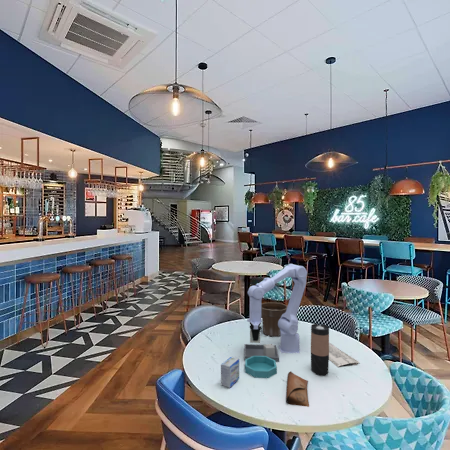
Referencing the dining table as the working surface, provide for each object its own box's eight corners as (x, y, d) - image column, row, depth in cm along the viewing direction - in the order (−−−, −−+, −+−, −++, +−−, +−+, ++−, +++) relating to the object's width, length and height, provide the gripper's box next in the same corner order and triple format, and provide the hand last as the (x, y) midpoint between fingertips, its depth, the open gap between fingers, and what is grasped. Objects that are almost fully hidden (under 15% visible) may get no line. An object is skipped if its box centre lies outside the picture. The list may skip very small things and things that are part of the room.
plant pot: (259, 327, 178) (259, 301, 178) (286, 328, 176) (286, 302, 175) (259, 337, 162) (259, 309, 161) (288, 339, 159) (288, 310, 159)
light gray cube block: (271, 352, 142) (271, 343, 142) (274, 356, 138) (274, 347, 138) (263, 353, 142) (263, 344, 142) (266, 357, 138) (266, 348, 138)
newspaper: (361, 365, 132) (361, 360, 132) (338, 371, 130) (338, 366, 129) (332, 344, 154) (331, 339, 154) (312, 349, 152) (311, 344, 152)
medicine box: (229, 388, 113) (230, 366, 113) (220, 385, 115) (220, 363, 115) (239, 379, 119) (239, 358, 119) (230, 376, 122) (230, 356, 122)
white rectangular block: (259, 339, 141) (259, 329, 141) (260, 342, 137) (260, 333, 137) (250, 339, 141) (250, 329, 141) (250, 342, 137) (250, 332, 137)
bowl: (274, 363, 133) (274, 356, 133) (277, 379, 119) (277, 371, 119) (245, 362, 134) (245, 355, 134) (245, 378, 120) (245, 370, 120)
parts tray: (276, 350, 146) (276, 345, 146) (279, 362, 133) (279, 357, 133) (244, 348, 147) (244, 344, 147) (244, 361, 134) (244, 356, 134)
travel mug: (319, 378, 121) (320, 331, 120) (306, 369, 127) (307, 325, 127) (332, 373, 124) (333, 328, 124) (319, 365, 131) (319, 322, 130)
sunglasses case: (310, 407, 101) (300, 390, 102) (293, 414, 103) (283, 397, 104) (308, 380, 119) (299, 365, 120) (293, 386, 120) (285, 372, 121)
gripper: (247, 306, 146) (247, 332, 147) (247, 315, 132) (247, 344, 132) (261, 306, 146) (260, 332, 146) (262, 316, 131) (262, 345, 132)
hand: (255, 338), depth 139 cm, fingers closed on white rectangular block, 4 cm apart
